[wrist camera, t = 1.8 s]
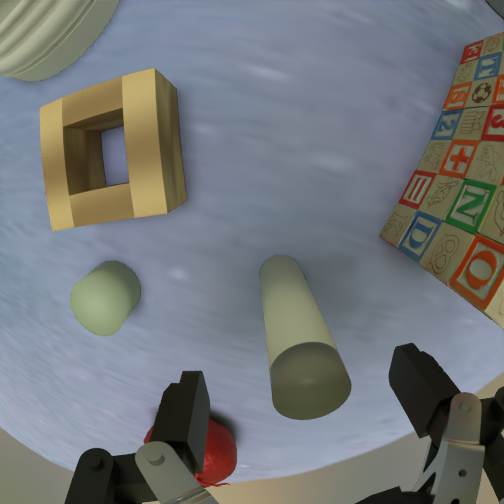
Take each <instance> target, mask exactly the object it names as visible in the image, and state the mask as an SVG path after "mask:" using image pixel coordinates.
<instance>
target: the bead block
mask: <svg viewBox="0 0 504 504" xmlns="http://www.w3.org/2000/svg"><path fill="white" fill-rule="evenodd" d="M120 126H124V132H125V145H126V155H127V165H128V174H129V182H127V183H121V184H116V185H111V186H106V183H105V175H104V166H103V157H102V146H101V131H105V130H108V129H112V128H116V127H120ZM40 134H41V152H42V165H43V174H44V183H45V190H46V197H47V204H48V210H49V215H50V221H51V226H52V231H56V230H62V229H68V228H73V227H79V226H85V225H91V224H97V223H104V222H110V221H117V220H124V219H130V218H138V217H145V216H152V215H160V214H168V213H169V212H171V211H172V210H173V209H175V208H176V207H178V206H179V205H181V204H182V203H184V202H185V201H187V197H186V188H185V180H184V171H183V161H182V152H181V141H180V130H179V118H178V104H177V89H176V88H175V87H174V86H173V85H172V84H171V83H170V82H169V81H168V80H167V79H166V78H165V77H164V76H163V75H162V74H161V73H160V72H159V71H157V70H156V69H155V68H151V69H147V70H143V71H139V72H136V73H132V74H128V75H125V76H122V77H118V78H115V79H112V80H109V81H106V82H103V83H100V84H97V85H94V86H91V87H88V88H86V89H83V90H80V91H78V92H75V93H73V94H70V95H68V96H65V97H63V98H61V99H58V100H56V101H54V102H51V103H49V104H47V105H45V106H43V107H41V108H40Z"/></svg>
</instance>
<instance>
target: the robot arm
mask: <svg viewBox="0 0 504 504" xmlns="http://www.w3.org/2000/svg"><path fill="white" fill-rule="evenodd" d="M486 1H487V2H488V3H489V4H490V5H491V6H492V7H493V8H494V9H495V10H496V12H497V13H499V14H500V15H501V16H502V17H503V18H504V0H486ZM389 383H390V386H391V388H392V389H393V391H394V393H395V395H396V396H397V398H398V400H399V402H400V404H401V405H402V407H403V409H404V411H405V413H406V414H407V416H408V418H409V420H410V422H411V423H412V425H413V427H414V429H415V431H416V433H417V435H418V436H419V438H423V437H425V436H428V435H430V437H431V440H430V441H429V444H428V448H427V451H426V455H425V458H424V462H423V465H422V468H421V471H420V474H419V477H418V479H417V481H416V483H415V485H414V486H413V488H412V490H411V491H407V492H401V489H400V487H399V486H398V487H395V488H392V489H389V490H386V491H383V492H380V493H377V494H374V495H371V496H369V497H367V498H365V499H364V500H361V501H359V502H357V503H355V504H476V500H477V495H478V490H479V486H480V481H481V475H482V468H484V470H485V472H486V474H487V477H488V479H489V481H490V483H491V485H492V487H493V489H494V492H495V494H496V496H497V498H498V501H499V504H504V438H503V436H502V434H501V432H502V431H503V429H504V387H501V388H500V389H498V391H497V392H496V394H495V396H494V397H492V398H486V399H478V397H477V396H475V395H474V394H471V393H468V392H463V393H461V392H460V390H459V389H458V388H457V386H456V385H455V384H454V383H453V381H452V380H451V379H450V378H449V376H448V375H447V374H446V373H445V372H444V371H443V369H442V368H441V366H439V364H438V363H437V361H436V360H435V359H434V358H433V357H432V356H431V355H429V354H427V353H426V352H424V351H422V352H420V351H419V349H418V348H417V347H416V346H415V344H413V343H409V344H405V345H401V346H397V347H396V348H395V350H394V354H393V358H392V362H391V366H390V370H389ZM158 410H159V411H158V413H157V416H156V419H155V423H154V426H153V429H152V433H151V436H150V440H149V442H148V443H146V444H144V445H143V446H141V447H140V448H139V449H138V451H137V452H136V453H133V454H126V455H118V456H112V455H111V454H110V453H109V452H108V451H106V450H104V449H101V448H92V449H89V450H87V451H85V452H84V453H83V454H82V455H81V457H80V459H79V461H78V464H77V467H76V470H75V473H74V476H73V478H72V481H71V485H70V488H69V491H68V494H67V497H66V500H65V504H142V502H150V501H159V502H160V503H161V504H219V503H218V502H217V501H216V500H215V499H214V497H213V496H212V495H211V494H210V493H209V492H208V491H207V490H206V489H204V488H203V487H202V486H201V485H200V483H199V482H198V481H197V480H196V479H195V477H194V473H199V474H203V467H204V458H205V448H206V439H207V430H208V422H209V413H210V400H209V395H208V391H207V387H206V383H205V379H204V375H203V372H202V371H183V372H182V375H181V379H180V383H171V384H170V385H169V386H168V388H167V389H166V390H165V391H164V393H163V396H162V399H161V403H160V406H159V409H158Z"/></svg>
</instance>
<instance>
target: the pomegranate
mask: <svg viewBox="0 0 504 504" xmlns="http://www.w3.org/2000/svg"><path fill="white" fill-rule="evenodd" d="M153 426H154V425H153ZM153 426H152V427H151V429H150V430H149V431H148V433H147V435H146V437H145V439H144V443H145V444H146V443H148V442H149V440H150V436H151V433H152V429H153ZM236 463H237V448H236V444H235V441H234V439H233V436H232V434H231V432H230V431H229V430H228V429H226V428H225V427H224V426H222V425H220V424H218V423H216V422H215V421H213V420H212V419H209V422H208V430H207V439H206V448H205V458H204V467H203V474H199V473H194V477H195V479H196V480H197V481H198V482H199V483H200V485H201V486H202V487H203V488H206V487H209V486H216V487H218V486H221V485H226V484H228V483H222V484H218V485H215V484H216V483H218V482H220V481H222V480H224V479H226V478H227V477H228V476H230V475H231V474H232V473H233V471H234V470H235V467H236ZM228 485H230V484H228Z"/></svg>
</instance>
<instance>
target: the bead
mask: <svg viewBox="0 0 504 504" xmlns="http://www.w3.org/2000/svg"><path fill="white" fill-rule="evenodd" d="M140 296H141V287H140V283H139V280H138V278H137V276H136V275H135V273H134V272H133V271H132V270H131V269H130V268H129V267H128V266H126V265H125V264H123V263H121V262H118V261H106V262H104V263H102V264H101V265H99V266H98V267H97V268H95V269H94V270H93V271H92V272H91V273H89V274H88V275H87V276H86V277H84V278H83V279H82V280H81V281H80V282H78V283H77V284H76V285H75V286H74V287H73V289H72V291H71V294H70V305H71V309H72V311H73V314H74V316H75V317H76V319H77V320H78V322H79V323H80V324H81V325H82V326H83V327H84V328H85V329H87V330H88V331H90V332H91V333H93V334H96V335H99V336H111V335H113V334H115V333H116V332H118V330H119V329H120V328H121V326H122V325H123V323H124V322H125V320H126V319H127V317H128V316H129V315H130V313H131V312H132V310H133V309H134V307H135V306H136V304H137V303H138V301H139V299H140Z"/></svg>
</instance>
